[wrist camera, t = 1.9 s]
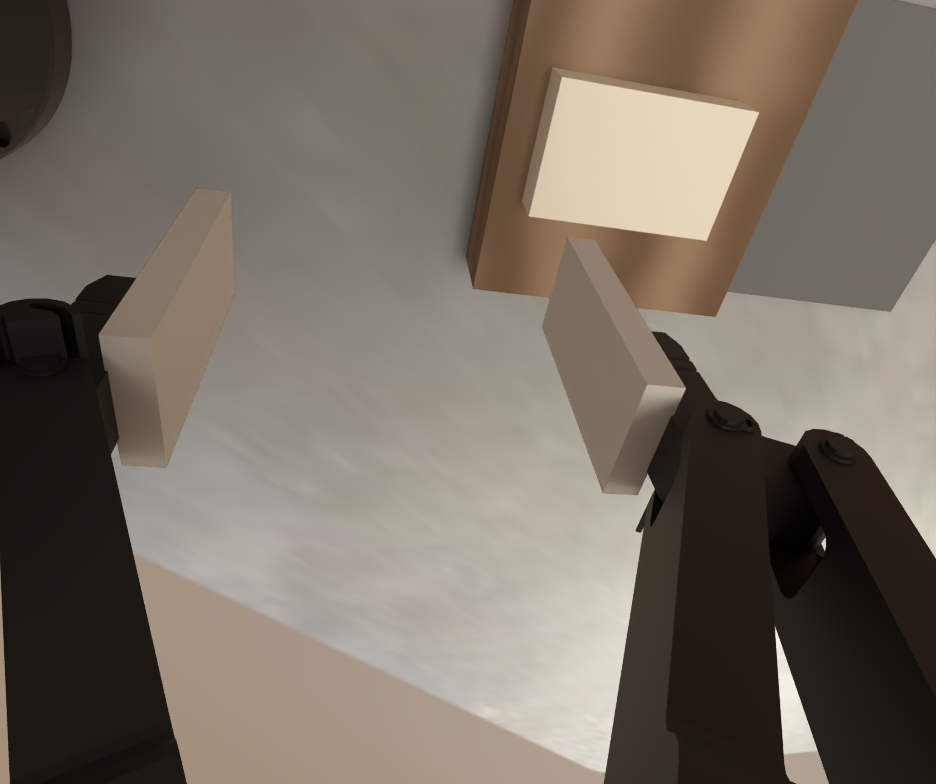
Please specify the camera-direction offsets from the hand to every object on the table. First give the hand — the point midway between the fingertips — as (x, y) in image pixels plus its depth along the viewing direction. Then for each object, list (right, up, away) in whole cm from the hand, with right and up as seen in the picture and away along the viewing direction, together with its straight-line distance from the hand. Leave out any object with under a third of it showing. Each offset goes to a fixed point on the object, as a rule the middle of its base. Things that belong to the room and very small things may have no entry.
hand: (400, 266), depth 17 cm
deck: (+10, +10, +18) cm, 23 cm away
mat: (+24, +9, +20) cm, 32 cm away
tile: (+9, +8, +14) cm, 19 cm away
